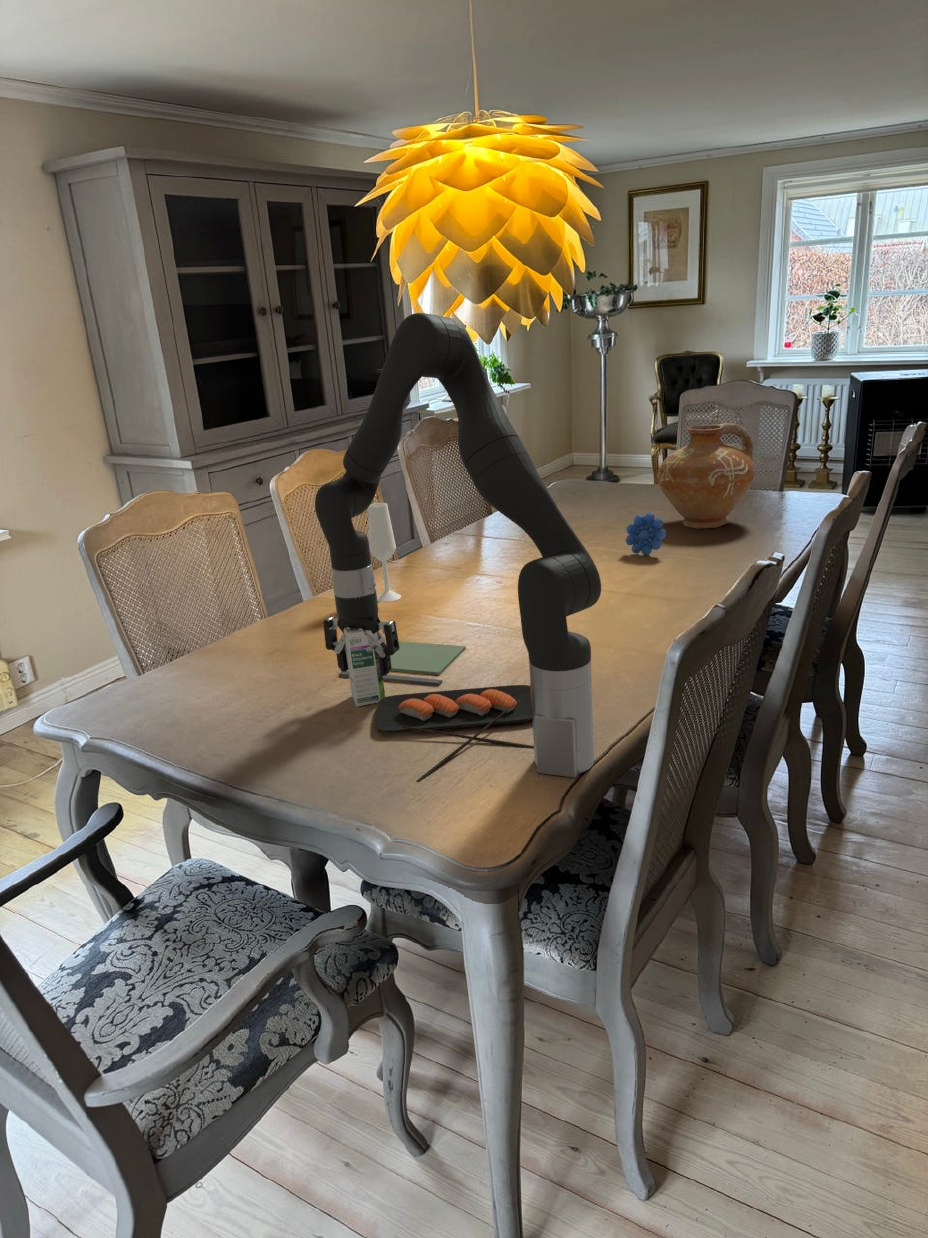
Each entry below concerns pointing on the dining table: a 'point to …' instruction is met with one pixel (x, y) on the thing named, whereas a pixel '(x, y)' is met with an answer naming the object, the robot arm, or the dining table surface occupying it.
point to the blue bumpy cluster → (645, 534)
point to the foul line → (404, 679)
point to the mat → (424, 657)
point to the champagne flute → (382, 543)
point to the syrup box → (363, 668)
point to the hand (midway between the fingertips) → (365, 672)
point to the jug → (708, 475)
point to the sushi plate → (455, 712)
